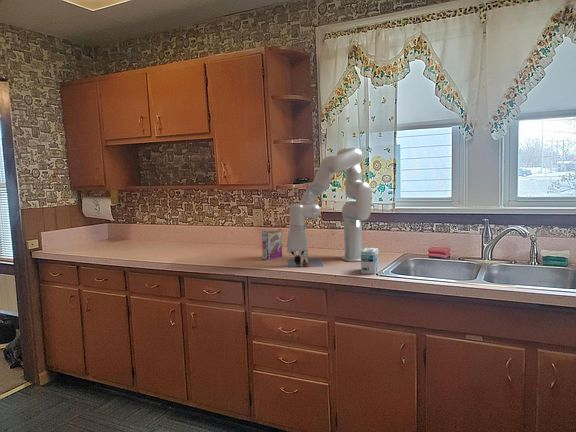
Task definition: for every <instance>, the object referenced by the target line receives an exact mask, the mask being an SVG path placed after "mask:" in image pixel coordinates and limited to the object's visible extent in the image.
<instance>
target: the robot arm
mask: <svg viewBox="0 0 576 432" xmlns="http://www.w3.org/2000/svg"><path fill="white" fill-rule="evenodd" d="M363 158H364V157H363V151H362V150H361V149H359V148H358V147H352V148H351V147H350V148H348V147H347V148H341V149H339V150H338V151H337V152H336V155H332V156H331V155H329V156H325V157H324V158H323V159H322V160H321V162H320V164H319V167H318V169H317V172H316V175H315V176H314V178H313V181H312V182H311V183H310V185H309V186H308V187H307V189H306V190H305V192H304V193H303V195H302V197H300V198H301V199H300V200H299V203H292V204H290V205H289V230H288V232H287V241H286V242H287V244H286V246H287V250H286V252H287V254H291V255H292V256H293V257H294V259H295V263H296V264H299V263H300V262H301V257H302V256H301V255H302V254H303V253H307V252H308V253H309V249H308V233H307V231H306V229H308V225H305V221H306V220H305V218H308V219H315V218H317V217H320V215H321V207H320V206H319V205H318V203H315V201H316V199H317V198H318V196H320V195H321V194H322V193H325V192H326V191H327V190H328V189H329V187H330V184H331V183H332V180H333V177H334V176H335V173H341V172H344V171H345V189H344V190H345V196H346V197H347V198H348V199H350V200H351V201H348V202H346V203H345V204H344V205H342V209H341V213H342V215H341V216H342V220H343V227H344V228H343V234H344V235H343V236H344V237H343V238H344V256H341V259H342V261H344V262H353V263H355V262H361V251H362V250H363V227H362V222H363V221H366V220H368V219H369V218H370V216H371V213H372V201H373V198H372V197H373V190H372V186H371V185H370V183H368V182H367V181H363V171H362V167H361V165H360V163H361V162H362V160H363ZM352 200H355V201H352ZM297 252H298V254H297Z"/></svg>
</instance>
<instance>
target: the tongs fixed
mask: <svg viewBox="0 0 576 432" xmlns="http://www.w3.org/2000/svg"><path fill="white" fill-rule="evenodd" d="M303 260H304V261H305V264H306V267H305V268H310V267H309V262H308V260H307V257H306V256H305V257H304V256H303Z"/></svg>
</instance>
